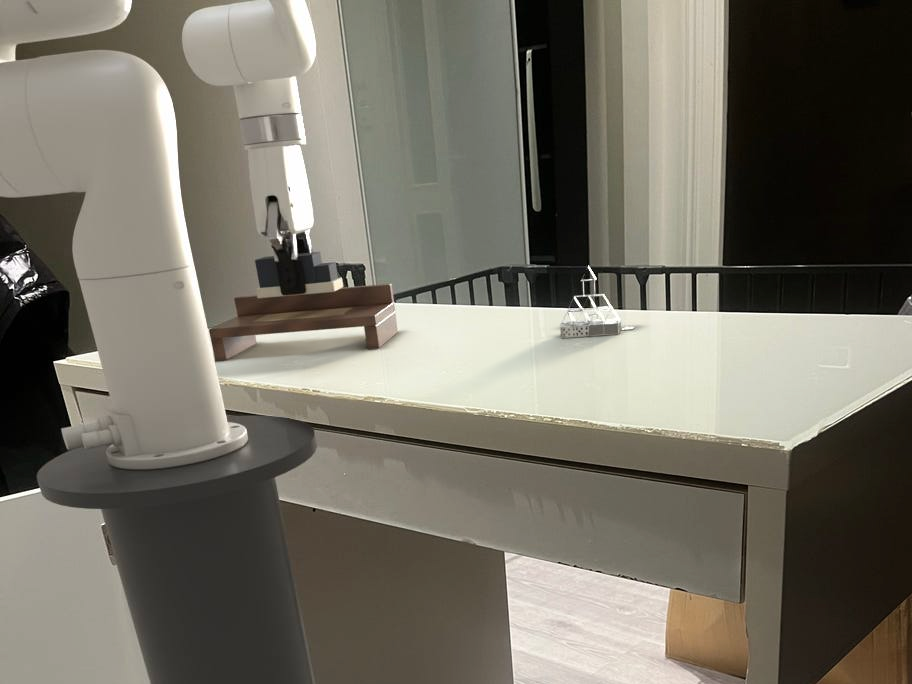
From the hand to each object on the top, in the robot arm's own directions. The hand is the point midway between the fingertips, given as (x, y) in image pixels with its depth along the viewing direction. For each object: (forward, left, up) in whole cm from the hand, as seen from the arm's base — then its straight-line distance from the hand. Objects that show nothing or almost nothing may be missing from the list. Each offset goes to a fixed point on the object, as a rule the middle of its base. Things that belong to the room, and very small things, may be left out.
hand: (299, 289), depth 125 cm
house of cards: (+28, -27, -7) cm, 40 cm away
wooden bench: (0, 0, -7) cm, 7 cm away
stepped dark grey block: (0, 0, 0) cm, 0 cm away
